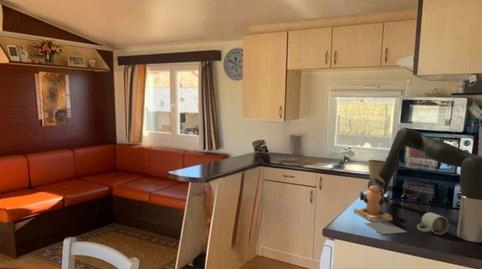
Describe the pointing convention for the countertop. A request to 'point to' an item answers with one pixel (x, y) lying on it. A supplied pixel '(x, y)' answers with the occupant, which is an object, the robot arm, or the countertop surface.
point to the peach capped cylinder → (373, 200)
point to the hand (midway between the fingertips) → (373, 201)
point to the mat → (385, 228)
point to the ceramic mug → (434, 223)
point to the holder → (363, 214)
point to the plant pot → (375, 168)
